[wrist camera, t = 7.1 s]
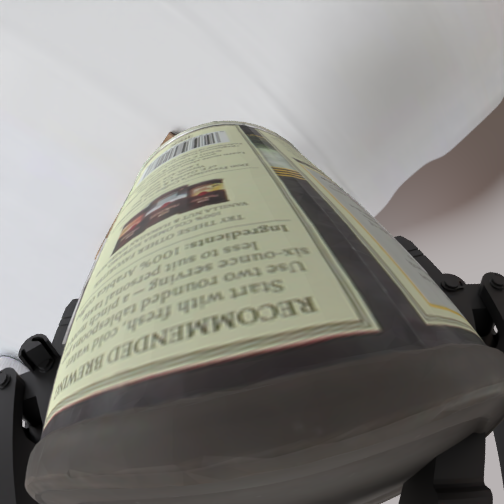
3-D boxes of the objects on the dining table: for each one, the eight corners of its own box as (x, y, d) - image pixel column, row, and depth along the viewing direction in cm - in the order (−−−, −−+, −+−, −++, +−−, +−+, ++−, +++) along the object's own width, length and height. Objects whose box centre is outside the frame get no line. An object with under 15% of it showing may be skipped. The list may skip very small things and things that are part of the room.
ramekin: (47, 384, 50) (42, 404, 45) (15, 384, 49) (9, 403, 45) (16, 350, 43) (8, 371, 39) (-15, 353, 43) (-23, 371, 39)
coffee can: (236, 317, 20) (280, 537, 8) (96, 234, 15) (7, 501, 4) (355, 205, 17) (524, 413, 5) (216, 76, 12) (468, 58, 1)
